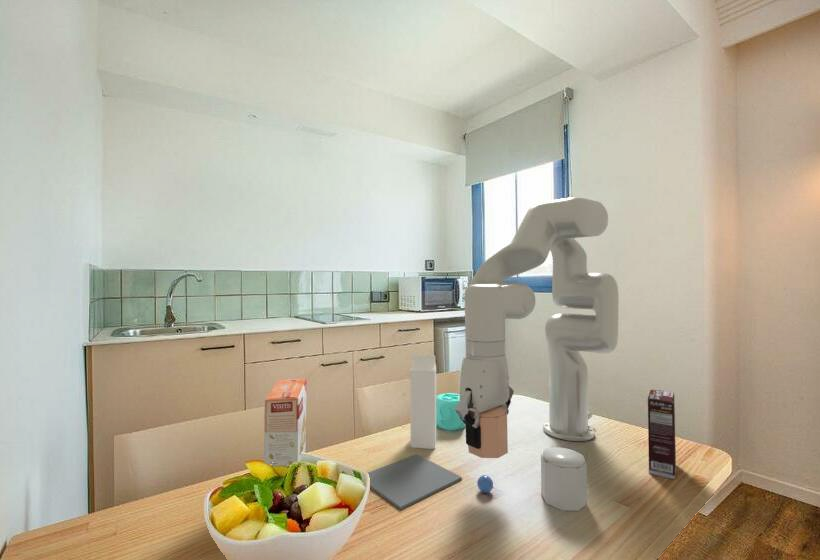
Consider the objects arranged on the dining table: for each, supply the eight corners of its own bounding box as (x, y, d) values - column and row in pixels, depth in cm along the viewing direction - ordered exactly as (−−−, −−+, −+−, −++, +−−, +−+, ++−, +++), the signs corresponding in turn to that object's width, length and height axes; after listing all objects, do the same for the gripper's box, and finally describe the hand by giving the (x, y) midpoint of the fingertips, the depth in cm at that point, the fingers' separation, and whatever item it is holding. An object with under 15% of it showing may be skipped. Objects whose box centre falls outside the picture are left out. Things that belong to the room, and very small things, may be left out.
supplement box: (650, 458, 87) (649, 388, 88) (676, 464, 85) (675, 392, 85) (647, 473, 80) (646, 397, 81) (675, 480, 78) (675, 402, 78)
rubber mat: (416, 455, 89) (416, 453, 89) (461, 479, 78) (461, 477, 78) (357, 479, 79) (357, 476, 79) (400, 509, 68) (400, 507, 68)
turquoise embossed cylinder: (466, 421, 111) (466, 393, 111) (463, 432, 103) (463, 402, 103) (439, 419, 113) (439, 392, 113) (434, 429, 105) (434, 400, 105)
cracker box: (299, 522, 65) (299, 397, 65) (261, 525, 64) (261, 399, 64) (307, 479, 78) (307, 377, 79) (276, 482, 77) (276, 378, 78)
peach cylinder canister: (484, 437, 79) (483, 399, 79) (514, 449, 74) (513, 408, 74) (460, 448, 75) (459, 407, 75) (490, 462, 69) (489, 417, 69)
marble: (484, 485, 76) (483, 470, 76) (496, 492, 74) (496, 476, 74) (474, 491, 74) (474, 475, 74) (486, 497, 72) (486, 481, 72)
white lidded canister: (555, 484, 76) (555, 444, 76) (592, 500, 71) (592, 456, 71) (535, 497, 72) (534, 454, 72) (573, 515, 66) (572, 469, 66)
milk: (435, 449, 93) (435, 357, 92) (410, 448, 93) (410, 357, 93) (436, 439, 99) (436, 353, 99) (413, 437, 99) (413, 352, 99)
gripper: (497, 340, 82) (498, 422, 83) (439, 352, 71) (441, 447, 71) (527, 344, 77) (529, 432, 77) (470, 358, 65) (472, 461, 66)
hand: (487, 439), depth 74 cm, fingers closed on peach cylinder canister, 7 cm apart
